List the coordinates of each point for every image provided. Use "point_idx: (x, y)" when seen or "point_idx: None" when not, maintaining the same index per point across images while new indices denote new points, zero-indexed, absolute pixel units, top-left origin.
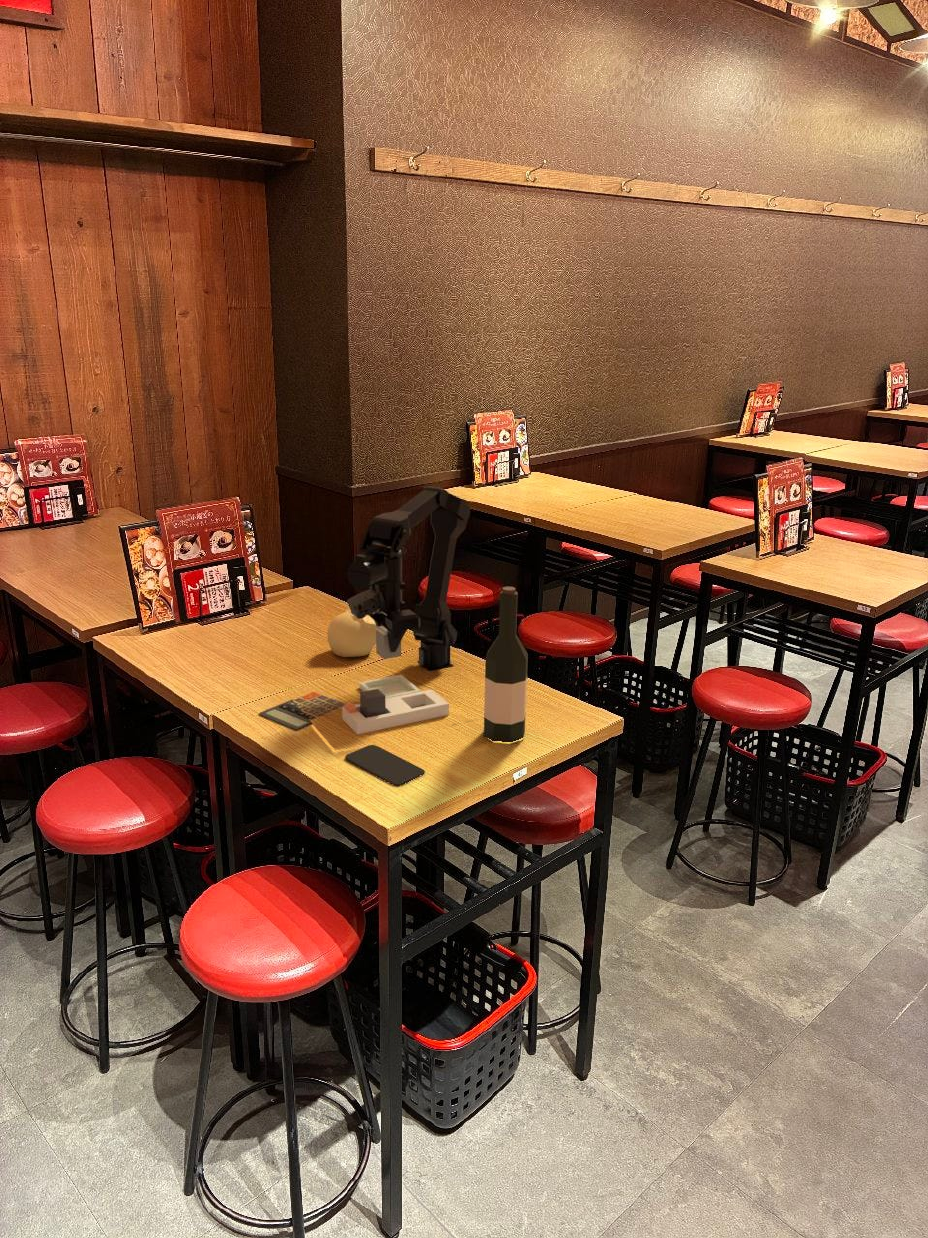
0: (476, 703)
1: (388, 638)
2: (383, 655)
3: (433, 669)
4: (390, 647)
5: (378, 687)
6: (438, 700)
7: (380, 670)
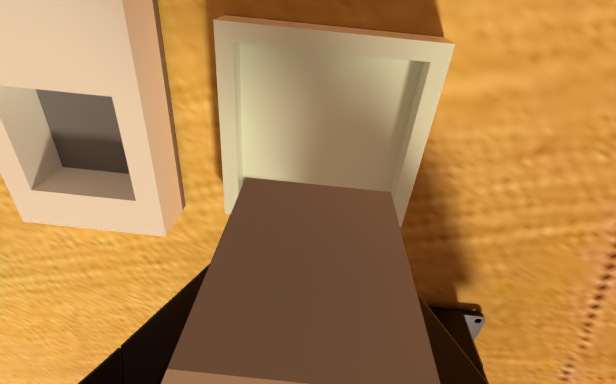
0: (137, 287)
1: (164, 351)
2: (246, 193)
3: None
4: (200, 279)
5: (388, 115)
6: (57, 208)
7: (539, 207)
